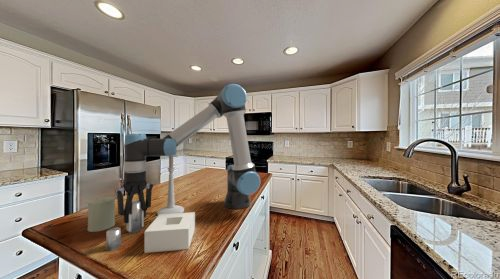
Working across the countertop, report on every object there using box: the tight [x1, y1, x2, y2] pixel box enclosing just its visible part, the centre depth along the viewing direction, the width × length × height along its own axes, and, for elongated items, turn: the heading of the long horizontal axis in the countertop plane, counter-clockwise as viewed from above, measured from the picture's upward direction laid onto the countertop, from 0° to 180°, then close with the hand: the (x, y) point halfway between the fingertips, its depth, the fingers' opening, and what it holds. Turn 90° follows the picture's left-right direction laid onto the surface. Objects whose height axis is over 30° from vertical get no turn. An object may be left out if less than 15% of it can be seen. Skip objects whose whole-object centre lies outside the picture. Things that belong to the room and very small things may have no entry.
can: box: [87, 196, 116, 233], centre depth 77 cm, size 9×9×12 cm
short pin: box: [105, 226, 122, 252], centre depth 62 cm, size 4×4×6 cm
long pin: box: [128, 199, 142, 234], centre depth 73 cm, size 4×4×12 cm
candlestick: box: [156, 156, 185, 216], centre depth 92 cm, size 13×13×30 cm
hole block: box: [144, 211, 196, 254], centre depth 67 cm, size 14×14×7 cm
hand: (135, 227), depth 73 cm, fingers closed on long pin, 4 cm apart
